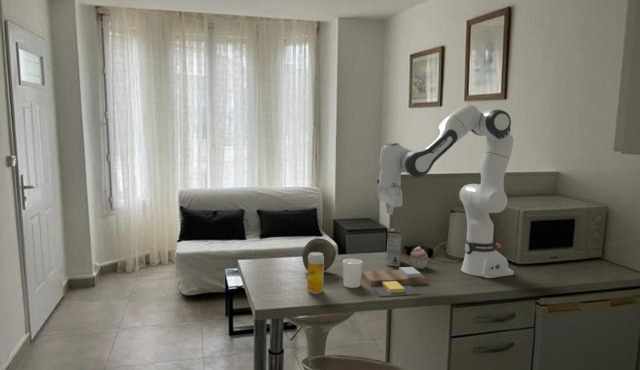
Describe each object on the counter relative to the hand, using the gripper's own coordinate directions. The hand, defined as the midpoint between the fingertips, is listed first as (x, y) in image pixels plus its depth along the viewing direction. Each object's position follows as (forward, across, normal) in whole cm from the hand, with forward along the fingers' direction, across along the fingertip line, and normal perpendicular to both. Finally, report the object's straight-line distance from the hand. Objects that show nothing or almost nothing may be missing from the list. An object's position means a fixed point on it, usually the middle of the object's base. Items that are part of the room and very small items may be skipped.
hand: (389, 213), depth 203 cm
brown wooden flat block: (+27, -8, +1) cm, 28 cm away
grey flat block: (+24, -8, -6) cm, 26 cm away
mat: (+26, -20, +5) cm, 34 cm away
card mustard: (+26, -19, +6) cm, 33 cm away
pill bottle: (+26, -16, +36) cm, 47 cm away
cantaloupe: (+26, +7, +30) cm, 40 cm away
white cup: (+26, -11, +20) cm, 35 cm away
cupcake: (+28, +8, -17) cm, 33 cm away
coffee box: (+27, +16, -8) cm, 33 cm away
